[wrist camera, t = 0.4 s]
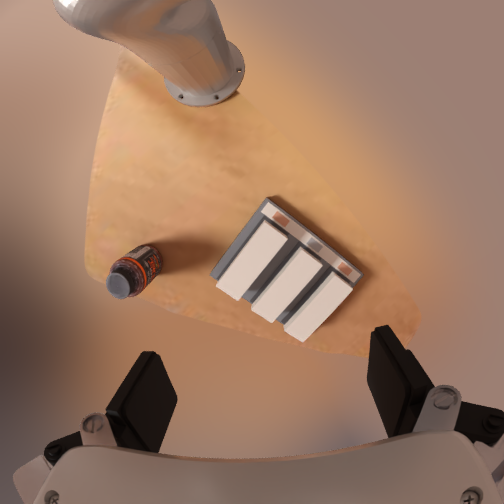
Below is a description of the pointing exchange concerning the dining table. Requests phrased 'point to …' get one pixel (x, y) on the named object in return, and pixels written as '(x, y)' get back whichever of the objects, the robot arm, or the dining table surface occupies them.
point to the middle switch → (286, 285)
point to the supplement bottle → (134, 272)
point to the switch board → (287, 257)
